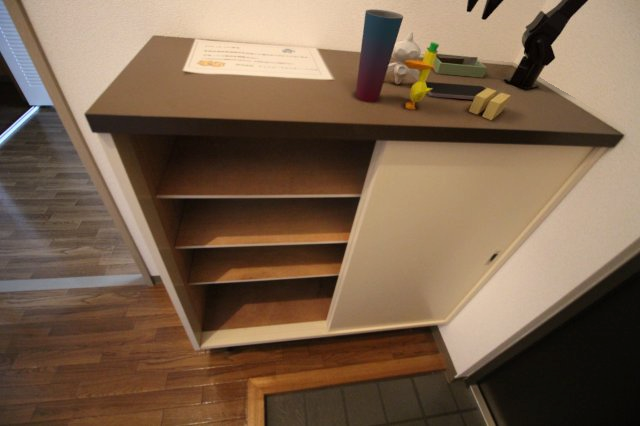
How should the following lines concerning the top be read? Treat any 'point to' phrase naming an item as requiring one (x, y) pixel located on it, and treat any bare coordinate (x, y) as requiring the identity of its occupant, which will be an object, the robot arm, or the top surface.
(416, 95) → the toy figure
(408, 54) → the figurine
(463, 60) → the knife
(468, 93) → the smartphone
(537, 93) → the top surface
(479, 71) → the tray
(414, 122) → the top surface
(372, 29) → the cup
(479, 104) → the butter
